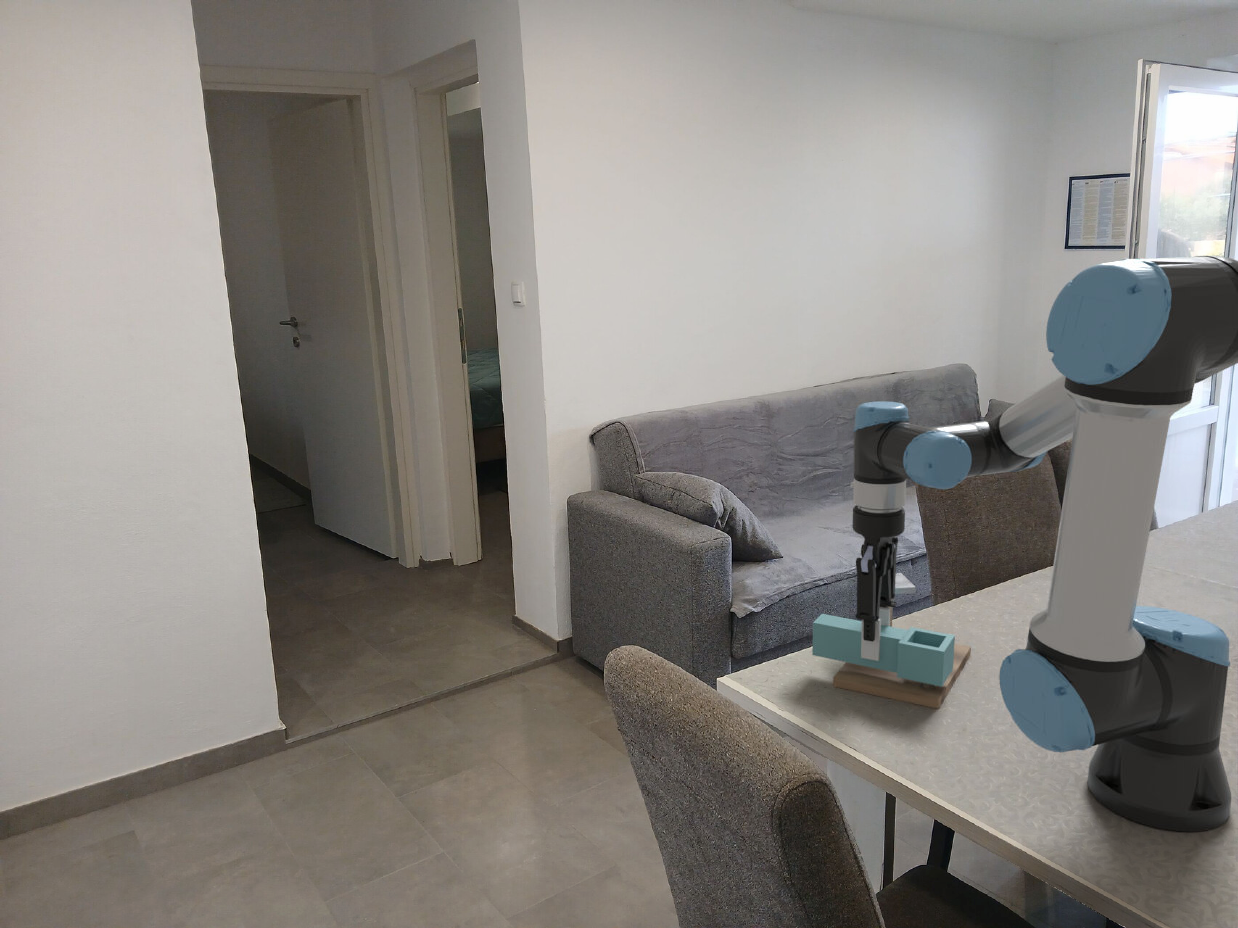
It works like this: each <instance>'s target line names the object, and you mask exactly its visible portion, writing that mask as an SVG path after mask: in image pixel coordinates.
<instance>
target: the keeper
mask: <svg viewBox="0 0 1238 928" xmlns="http://www.w3.org/2000/svg"><path fill="white" fill-rule="evenodd" d="M916 592H917V587H916V586H915V584H913V583H912V581H910V580H909V579H908V578H907V577H906V576H905V575H904V574H903V573H902V572H896V579H895V595H900V594H901V595H903V594H916ZM891 600H892V601H894V599H891ZM888 608H890V627H893V610H894V609H893V608H894V607H888Z"/></svg>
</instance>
